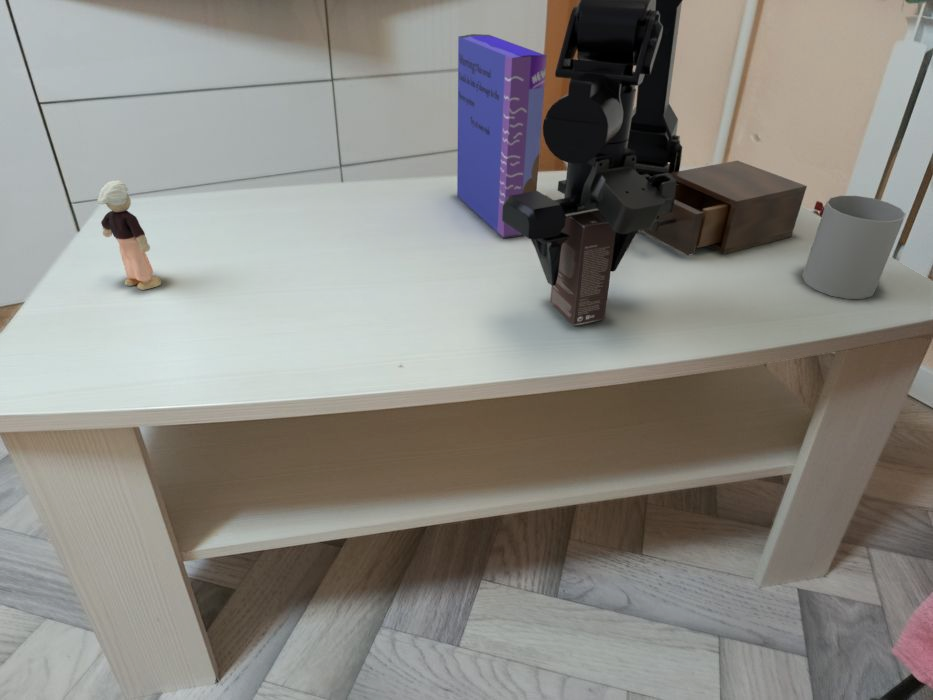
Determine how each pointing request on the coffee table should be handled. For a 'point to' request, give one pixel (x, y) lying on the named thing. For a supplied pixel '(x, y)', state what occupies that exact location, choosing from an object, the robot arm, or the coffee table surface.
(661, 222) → the drawer
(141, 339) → the coffee table surface
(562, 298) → the box
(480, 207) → the cereal box
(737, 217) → the cabinet
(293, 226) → the coffee table surface
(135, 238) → the grandmother figurine
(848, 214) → the cup
